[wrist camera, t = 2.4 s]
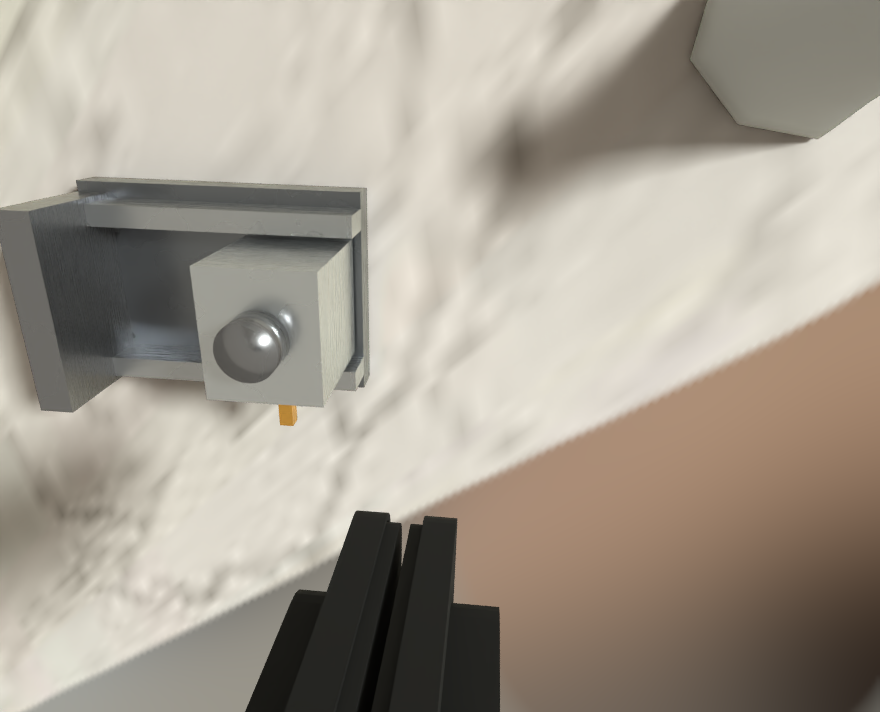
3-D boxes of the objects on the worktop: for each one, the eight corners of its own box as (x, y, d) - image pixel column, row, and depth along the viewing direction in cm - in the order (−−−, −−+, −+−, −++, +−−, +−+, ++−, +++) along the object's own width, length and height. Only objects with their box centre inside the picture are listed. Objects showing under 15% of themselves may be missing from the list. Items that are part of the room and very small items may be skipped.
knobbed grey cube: (352, 238, 23) (305, 282, 18) (356, 393, 26) (316, 476, 20) (248, 233, 24) (170, 276, 18) (262, 387, 26) (197, 467, 20)
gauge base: (366, 188, 24) (331, 212, 19) (369, 375, 27) (339, 440, 22) (94, 177, 25) (-11, 196, 20) (127, 360, 28) (43, 419, 23)
